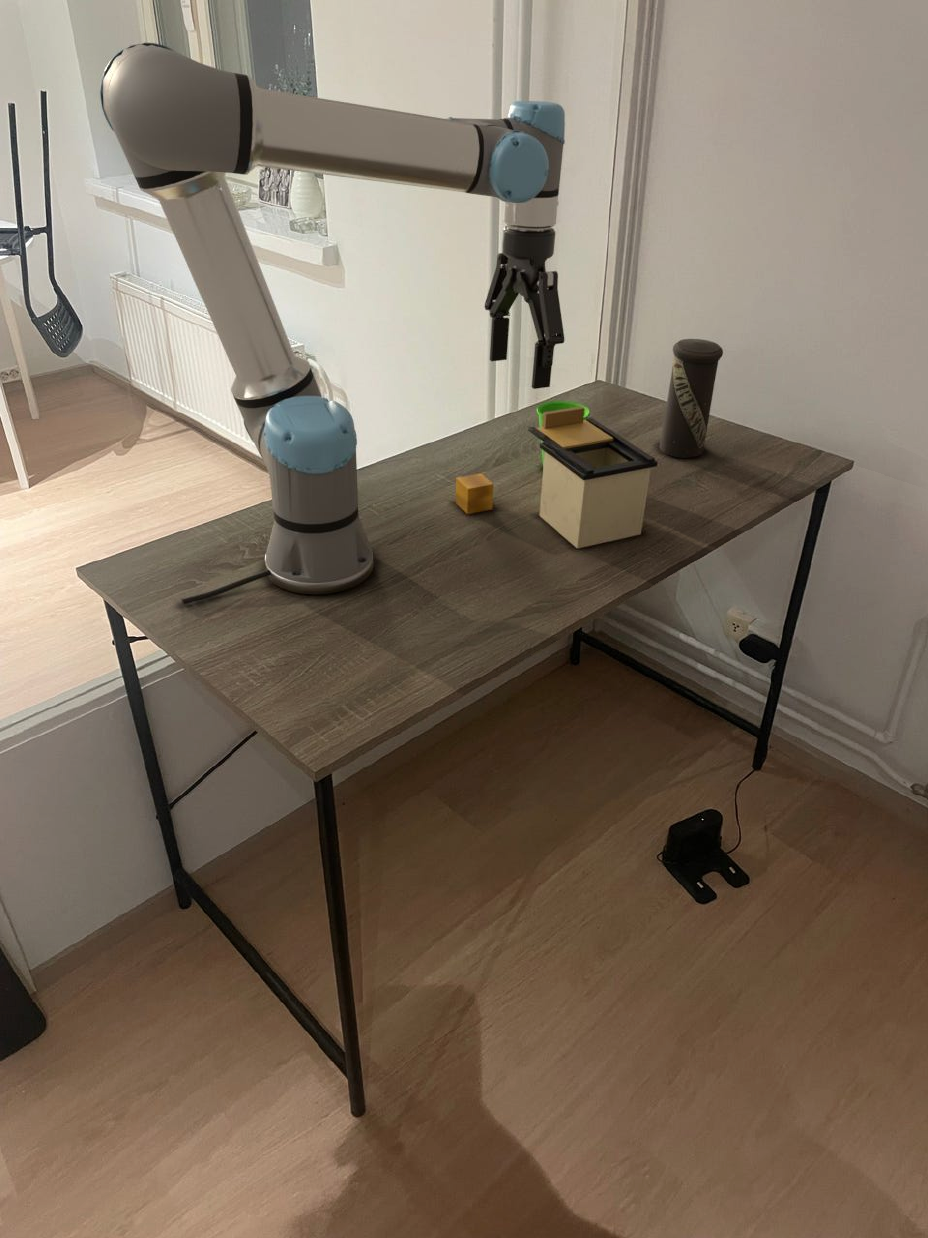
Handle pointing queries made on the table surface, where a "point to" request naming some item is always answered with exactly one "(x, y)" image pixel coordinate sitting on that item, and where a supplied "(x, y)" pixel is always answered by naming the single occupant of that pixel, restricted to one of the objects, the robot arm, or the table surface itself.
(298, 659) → the table surface
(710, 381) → the container
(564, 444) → the shutter
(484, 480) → the block
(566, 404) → the cup
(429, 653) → the table surface
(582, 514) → the sliding lid box
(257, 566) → the table surface
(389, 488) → the table surface
